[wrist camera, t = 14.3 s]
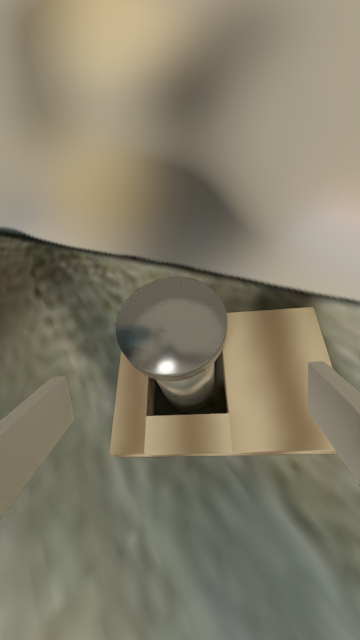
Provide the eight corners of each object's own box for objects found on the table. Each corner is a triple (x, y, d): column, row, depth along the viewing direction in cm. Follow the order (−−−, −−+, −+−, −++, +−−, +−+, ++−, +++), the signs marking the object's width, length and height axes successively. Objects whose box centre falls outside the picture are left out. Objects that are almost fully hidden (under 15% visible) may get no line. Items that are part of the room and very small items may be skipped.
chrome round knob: (154, 422, 25) (109, 376, 14) (157, 356, 28) (121, 281, 18) (226, 420, 24) (233, 370, 14) (220, 353, 27) (222, 273, 17)
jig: (121, 457, 23) (109, 453, 21) (133, 334, 30) (125, 319, 27) (341, 453, 22) (357, 449, 19) (304, 323, 28) (313, 307, 25)
